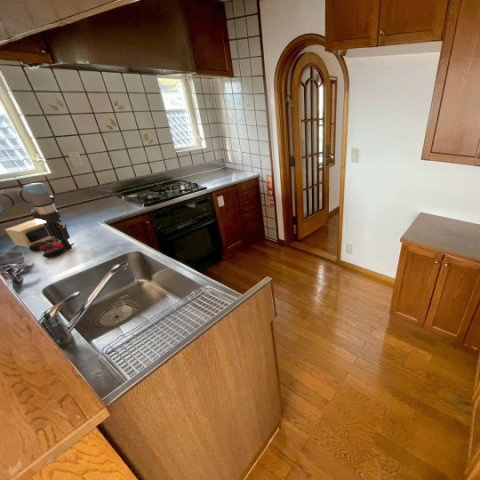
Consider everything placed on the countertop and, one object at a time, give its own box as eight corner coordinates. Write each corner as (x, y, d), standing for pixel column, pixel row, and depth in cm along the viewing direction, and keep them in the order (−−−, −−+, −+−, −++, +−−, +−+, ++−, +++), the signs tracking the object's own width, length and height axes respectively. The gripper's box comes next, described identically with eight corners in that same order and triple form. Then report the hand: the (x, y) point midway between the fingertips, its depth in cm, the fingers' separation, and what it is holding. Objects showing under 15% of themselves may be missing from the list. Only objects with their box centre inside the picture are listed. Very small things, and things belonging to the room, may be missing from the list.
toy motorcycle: (50, 262, 146) (81, 245, 157) (44, 255, 143) (75, 238, 154) (31, 253, 156) (61, 238, 167) (24, 246, 153) (55, 231, 164)
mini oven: (15, 245, 161) (5, 229, 155) (45, 233, 174) (36, 218, 169) (31, 247, 158) (21, 231, 152) (60, 235, 171) (51, 220, 166)
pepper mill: (37, 225, 186) (23, 201, 177) (36, 221, 192) (23, 197, 184) (66, 218, 195) (54, 195, 187) (64, 215, 202) (52, 192, 194)
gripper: (64, 210, 143) (83, 247, 155) (47, 208, 146) (67, 245, 157) (49, 215, 137) (70, 254, 148) (31, 213, 140) (53, 251, 151)
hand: (68, 249), depth 153 cm, fingers closed
